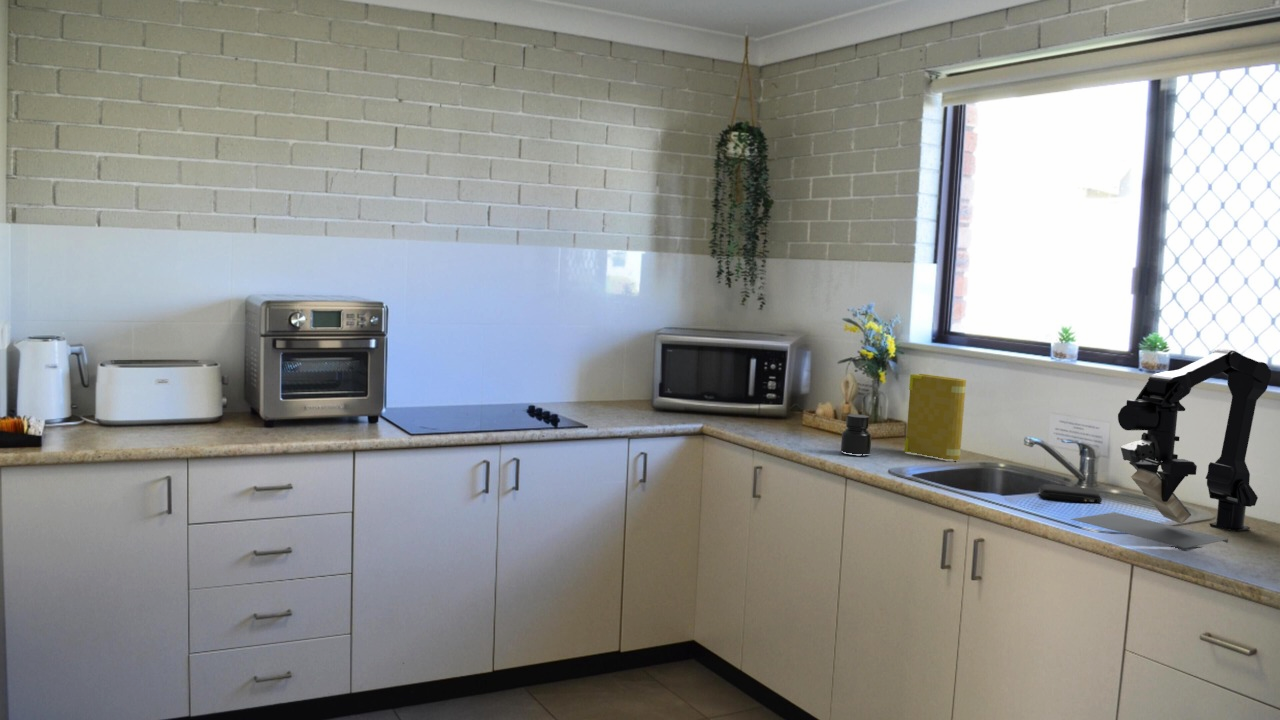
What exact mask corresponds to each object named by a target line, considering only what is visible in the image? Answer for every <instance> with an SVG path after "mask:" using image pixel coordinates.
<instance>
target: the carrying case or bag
mask: <svg viewBox="0 0 1280 720" xmlns="http://www.w3.org/2000/svg"><path fill="white" fill-rule="evenodd" d="M1038 492H1039V494H1040V496H1041V497H1042V498H1043V499H1045V500H1049V501H1058V502H1059V501H1060V502H1067V503H1076V504H1077V503H1078V504H1085V505H1086V504H1087V505H1088V504H1089V505H1099V504H1100V503H1101V502H1102V501H1103V498H1102V497H1101V495H1100V494H1099V493H1098V491H1097V490H1096V489H1094V488H1086V487H1077V486H1069V485H1061V484H1048V483H1044V484H1041V485H1040V486H1039V487H1038Z"/></svg>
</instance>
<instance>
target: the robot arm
mask: <svg viewBox="0 0 1280 720" xmlns="http://www.w3.org/2000/svg"><path fill="white" fill-rule="evenodd" d="M1221 373H1223V374H1224V375H1226V376H1227V388H1229V391H1230V394H1231V402H1230V403H1231V404H1230V407H1229V413H1228V418H1227V422H1226V427H1225V432H1224V438H1223V443H1222V448H1221V453H1220V455H1219V456H1220V457H1219V458H1217V460H1215V462H1212V461H1211V462H1209V464H1208V465H1207V467H1208V468H1207V473H1206V476H1205V479H1206V486H1207V490H1208V494H1209V498H1210V499H1211V500H1212V499H1213V500H1217V503H1218V504H1217V513H1216V520H1215V522H1210V523H1209V525H1208V526H1211V527H1215V528H1220V529H1224V530H1228V531H1232V532H1242V531H1247V530H1251V527H1250V526H1247V525H1245V517H1246V508H1247V507H1250V508H1251V507H1252V506H1253V507H1255V506H1256V504H1257V501H1258V498H1259V497H1258V495H1257V494H1256V493H1255V491H1254V490H1253V488H1252V486H1251V485H1250V480H1251V479H1250V478H1251V477H1250V476H1251V474H1250V473H1251V472H1250V471H1249V468H1248V466H1247V463H1246V457H1247V451H1248V445H1249V442H1250V436H1251V431H1252V426H1253V420H1254V416H1255V411H1256V405H1257V401H1258V400H1259V399H1260V397H1262V395H1263V394H1264V393H1265V392H1266V391H1267V390H1268V386H1269V383H1270V380H1271V376H1272V371H1271V369H1270V366H1269V365H1268V364H1267V363H1265V362H1262V361H1257V360H1255V359H1253V358H1250V357H1247V356H1244V355H1243V354H1241V353H1239V352H1237V351H1236V350H1231V349H1221V348H1219V349H1216V350H1214V351H1213V352H1212V353H1210V354H1208V355H1206V356H1204V357H1201V358H1200V359H1197V360H1196V361H1194V362H1192V363H1189V364H1187V365H1185V366H1183V367H1181V368H1179V369H1174V370H1167V371H1162V372H1158V373H1153V374H1152V375H1150V376H1149V377H1148V379H1147V382H1146V383H1145V384H1144V386H1143V388H1142V389H1141V391H1140V392H1139V394H1137V396H1136V398H1135V400H1133V399H1127V400H1126V404H1125V405H1124V406H1122V407H1121V408H1120V410H1119V411H1118V414H1117V421H1118V422H1117V423H1118V424H1119V426H1120V427H1121V429H1123V430H1125V431H1146V432H1142V434H1141V438H1140V439H1139V440H1135V441H1132V442H1128V443H1126V444H1123V445H1121V446H1120V450H1121V455H1122V459H1123V461H1129V462H1128V463H1129V465H1131V466H1132V467H1133V468H1134V469H1135V470H1136V471H1137V470H1139V469H1140V468H1141V469H1145V470H1148V471H1151V472H1154V473H1157V474H1158V475H1159V476H1160V477H1161V479H1162V501H1163V502H1167V501H1168V500H1169V498H1170V497H1171V495H1172V494H1173V493H1175V491H1176V489H1177V488H1178V486H1179V485H1180V484H1181V483H1182V481H1183V480H1184V479H1185V478H1186V477H1188V476H1189V475H1190V476H1193V475H1194V476H1196V475H1197V467H1198V466H1197V465H1196V463H1195V462H1194V461H1192V460H1189V459H1186V458H1185V459H1184V458H1179V457H1178V456H1179V455H1178V454H1177V453H1175V445H1176V444H1175V442H1180V436H1178V435H1176V432H1177V422H1178V413H1179V412H1185V411H1186V407H1185V406H1184V405H1183V404H1182V403H1181V402H1180V401H1181V400H1183V399H1185V398H1186V397H1187V396H1188V395H1189V394H1190V393H1191V391H1192V388H1193V387H1196V386H1197V385H1199V384H1201V383H1203V382H1205V381H1207V380H1209V379H1210V378H1214V377H1215V376H1217V375H1219V374H1221ZM1159 467H1160V468H1161V470H1160V471H1159ZM1142 495H1144V496H1146V495H1145V494H1144V492H1143V491H1142Z"/></svg>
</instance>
